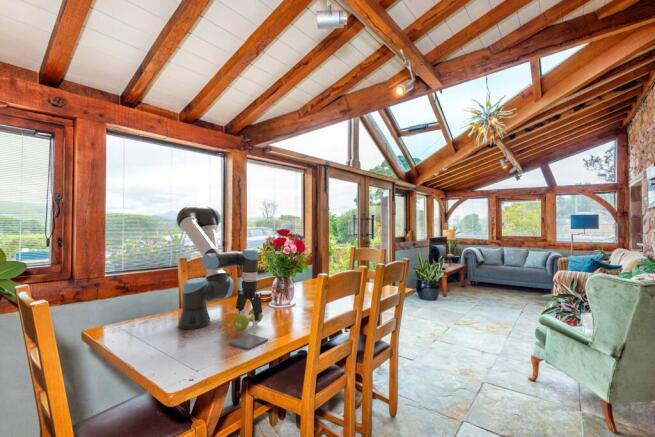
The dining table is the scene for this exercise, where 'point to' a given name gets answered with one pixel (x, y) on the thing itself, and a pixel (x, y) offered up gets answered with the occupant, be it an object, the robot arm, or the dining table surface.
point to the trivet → (248, 341)
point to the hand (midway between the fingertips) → (248, 325)
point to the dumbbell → (245, 320)
